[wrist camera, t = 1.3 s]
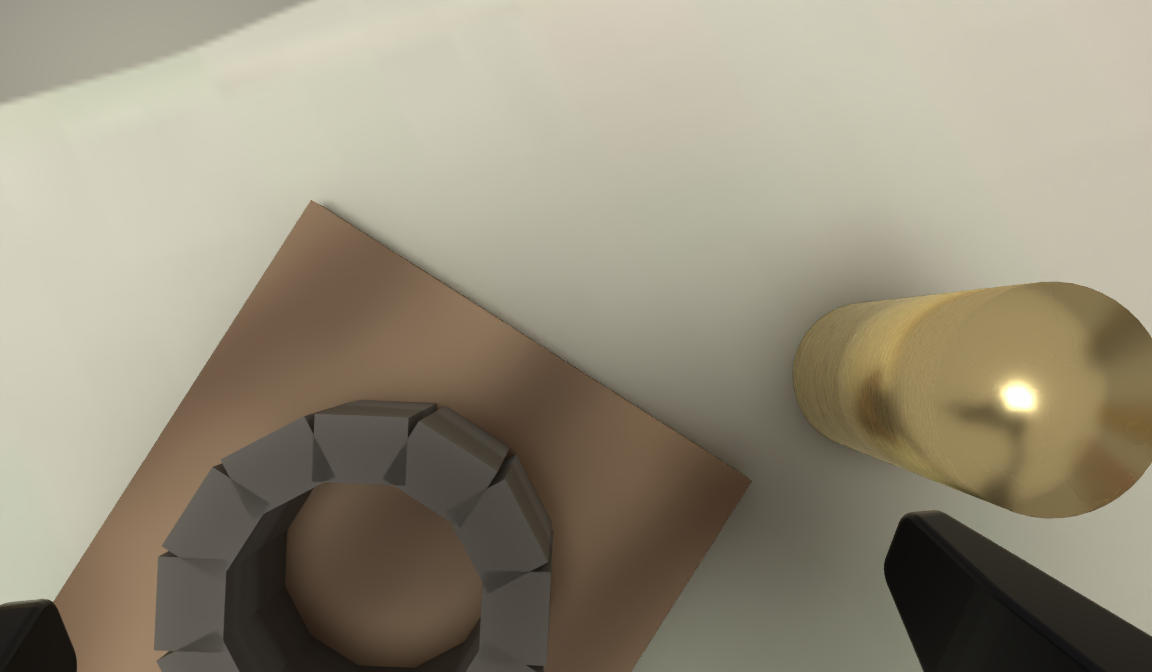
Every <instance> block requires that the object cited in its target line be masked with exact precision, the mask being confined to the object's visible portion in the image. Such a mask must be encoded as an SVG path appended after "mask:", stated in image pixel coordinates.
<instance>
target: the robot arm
mask: <svg viewBox="0 0 1152 672" xmlns="http://www.w3.org/2000/svg"><path fill="white" fill-rule="evenodd" d="M884 574H885V578H886V582H887V585H888V587H889V590H890V592H891V595H892V597H893V599H894V602H895V604H896V607H897V609H898V611H899V614H900V616H901V619H902V621H903V623H904V626H905V628H906V631H907V633H908V635H909V638H910V640H911V643H912V645H913V647H914V650H915V652H916V655H917V657H918V659H919V662H920V664H921V667H922V669H923V671H924V672H1152V636H1150V635H1149V634H1147V633H1145V632H1143V631H1142V630H1140V629H1138V628H1137V627H1135V626H1133V625H1132V624H1130V623H1128V622H1127V621H1125V620H1123V619H1122V618H1120V617H1118V616H1117V615H1115V614H1113V613H1112V612H1110V611H1108V610H1107V609H1105V608H1103V607H1101V606H1100V605H1098V604H1096V603H1095V602H1093V601H1091V600H1090V599H1088V598H1086V597H1085V596H1083V595H1081V594H1080V593H1078V592H1076V591H1075V590H1073V589H1071V588H1070V587H1068V586H1066V585H1065V584H1063V583H1061V582H1059V581H1058V580H1056V579H1054V578H1053V577H1051V576H1049V575H1048V574H1046V573H1044V572H1043V571H1041V570H1039V569H1038V568H1036V567H1034V566H1033V565H1031V564H1029V563H1028V562H1026V561H1024V560H1023V559H1021V558H1019V557H1017V556H1016V555H1014V554H1012V553H1011V552H1009V551H1007V550H1006V549H1004V548H1002V547H1001V546H999V545H997V544H996V543H994V542H992V541H991V540H989V539H987V538H986V537H984V536H982V535H981V534H979V533H977V532H975V531H974V530H972V529H970V528H969V527H967V526H965V525H964V524H962V523H960V522H959V521H957V520H955V519H954V518H952V517H950V516H949V515H947V514H945V513H943V512H940V511H935V510H932V511H921V512H911V513H908V514H906V515H904V516H903V517H902V518H901V520H900V522H899V524H898V527H897V529H896V532H895V535H894V537H893V540H892V542H891V545H890V548H889V550H888V553H887V556H886V558H885V562H884ZM0 672H77V658H76V653H75V650H74V647H73V645H72V642H71V640H70V638H69V635H68V633H67V630H66V628H65V625H64V623H63V620H62V618H61V615H60V613H59V610H58V608H57V607H56V605H55V604H54V603H53V602H52V601H50V600H46V599H38V600H28V601H18V602H9V603H5V604H2V605H0Z"/></svg>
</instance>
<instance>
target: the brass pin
mask: <svg viewBox="0 0 1152 672" xmlns="http://www.w3.org/2000/svg"><path fill="white" fill-rule="evenodd" d="M793 384H794V391H795V394H796V398H797V401H798V403H799V406H800V408H801V410H802V412H803V413H804V415H805V417H806V418H807V419H808V421H809V422H810V423H811V424H812V425H813V426H814V427H815V428H816V429H817V430H818V431H819V432H820V433H822V434H823V435H824V436H826V437H827V438H829V439H831V440H833V441H834V442H837V443H839V444H842V445H844V446H847V447H849V448H852V449H855V450H857V451H860V452H862V453H865V454H867V455H870V456H872V457H875V458H878V459H880V460H883V461H885V462H888V463H890V464H893V465H895V466H898V467H900V468H903V469H906V470H908V471H911V472H913V473H916V474H918V475H921V476H923V477H926V478H929V479H931V480H934V481H936V482H939V483H941V484H944V485H946V486H949V487H951V488H954V489H957V490H959V491H962V492H964V493H967V494H969V495H972V496H974V497H977V498H980V499H982V500H985V501H987V502H990V503H992V504H995V505H997V506H1000V507H1002V508H1005V509H1008V510H1010V511H1013V512H1015V513H1019V514H1023V515H1027V516H1031V517H1040V518H1065V517H1071V516H1077V515H1081V514H1084V513H1088V512H1091V511H1094V510H1096V509H1098V508H1100V507H1103V506H1105V505H1107V504H1108V503H1110V502H1112V501H1113V500H1115V499H1117V498H1118V497H1120V496H1121V495H1122V494H1123V493H1125V492H1126V491H1127V490H1128V489H1130V488H1131V487H1132V486H1133V485H1134V484H1135V483H1136V482H1137V480H1138V479H1139V478H1140V477H1141V476H1142V475H1143V474H1144V472H1145V471H1146V469H1147V468H1148V467H1149V465H1150V464H1151V462H1152V338H1151V336H1150V335H1149V333H1148V332H1147V330H1146V329H1145V328H1144V327H1143V325H1142V324H1141V323H1140V322H1139V320H1138V319H1137V318H1136V317H1135V316H1134V315H1133V314H1132V313H1130V312H1129V311H1128V310H1127V309H1126V308H1125V307H1123V306H1122V305H1121V304H1119V303H1118V302H1117V301H1115V300H1114V299H1112V298H1110V297H1108V296H1106V295H1105V294H1103V293H1101V292H1098V291H1096V290H1093V289H1090V288H1088V287H1084V286H1080V285H1076V284H1072V283H1063V282H1039V283H1030V284H1021V285H1012V286H1004V287H995V288H986V289H978V290H969V291H960V292H951V293H943V294H934V295H925V296H916V297H908V298H899V299H890V300H882V301H873V302H864V303H856V304H850V305H846V306H843V307H840V308H838V309H835V310H833V311H831V312H830V313H828V314H826V315H825V316H823V317H822V318H821V319H819V320H818V321H817V322H816V323H815V324H814V325H813V326H812V327H811V328H810V329H809V331H808V332H807V333H806V335H805V336H804V338H803V340H802V342H801V343H800V345H799V348H798V351H797V353H796V357H795V361H794V368H793Z"/></svg>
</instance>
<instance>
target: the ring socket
mask: <svg viewBox="0 0 1152 672" xmlns="http://www.w3.org/2000/svg"><path fill="white" fill-rule="evenodd" d="M751 482H752V481H751V480H750V479H748V478H747V477H746V476H745V475H743V474H742V473H740V472H738V471H737V470H735V469H734V468H732V467H731V466H729V465H727V464H726V463H724V462H723V461H721V460H720V459H718V458H717V457H715V456H713V455H712V454H710V453H709V452H707V451H706V450H704V449H702V448H701V447H699V446H698V445H696V444H695V443H693V442H691V441H690V440H688V439H687V438H685V437H684V436H682V435H680V434H679V433H677V432H676V431H674V430H673V429H671V428H669V427H668V426H666V425H665V424H663V423H662V422H660V421H658V420H657V419H655V418H654V417H652V416H651V415H649V414H648V413H646V412H644V411H643V410H641V409H640V408H638V407H637V406H635V405H633V404H632V403H630V402H629V401H627V400H626V399H624V398H622V397H621V396H619V395H618V394H616V393H615V392H613V391H611V390H610V389H608V388H607V387H605V386H604V385H602V384H600V383H599V382H597V381H596V380H594V379H593V378H591V377H590V376H588V375H586V374H585V373H583V372H582V371H580V370H579V369H577V368H575V367H574V366H572V365H571V364H569V363H568V362H566V361H564V360H563V359H561V358H560V357H558V356H557V355H555V354H553V353H552V352H550V351H549V350H547V349H546V348H544V347H542V346H541V345H539V344H538V343H536V342H535V341H533V340H532V339H530V338H528V337H527V336H525V335H524V334H522V333H521V332H519V331H517V330H516V329H514V328H513V327H511V326H510V325H508V324H506V323H505V322H503V321H502V320H500V319H499V318H497V317H495V316H494V315H492V314H491V313H489V312H488V311H486V310H484V309H483V308H481V307H480V306H478V305H477V304H475V303H473V302H472V301H470V300H469V299H467V298H466V297H464V296H463V295H461V294H459V293H458V292H456V291H455V290H453V289H452V288H450V287H448V286H447V285H445V284H444V283H442V282H441V281H439V280H437V279H436V278H434V277H433V276H431V275H430V274H428V273H426V272H425V271H423V270H422V269H420V268H419V267H417V266H415V265H414V264H412V263H411V262H409V261H408V260H406V259H405V258H403V257H401V256H400V255H398V254H397V253H395V252H394V251H392V250H390V249H389V248H387V247H386V246H384V245H383V244H381V243H379V242H378V241H376V240H375V239H373V238H372V237H370V236H368V235H367V234H365V233H364V232H362V231H361V230H359V229H357V228H356V227H354V226H353V225H351V224H350V223H348V222H347V221H345V220H343V219H342V218H340V217H339V216H337V215H336V214H334V213H332V212H331V211H329V210H328V209H326V208H325V207H323V206H321V205H319V204H318V203H316V202H314V201H312V200H311V201H310V203H309V204H308V206H307V207H306V209H305V211H304V212H303V214H302V215H301V217H300V218H299V220H298V221H297V223H296V225H295V226H294V228H293V229H292V231H291V232H290V234H289V235H288V237H287V239H286V240H285V242H284V243H283V245H282V246H281V248H280V250H279V251H278V253H277V254H276V256H275V257H274V259H273V260H272V262H271V264H270V265H269V267H268V268H267V270H266V271H265V273H264V274H263V276H262V278H261V279H260V281H259V282H258V284H257V285H256V287H255V288H254V290H253V292H252V293H251V295H250V296H249V298H248V299H247V301H246V302H245V304H244V306H243V307H242V309H241V310H240V312H239V313H238V315H237V317H236V318H235V320H234V321H233V323H232V324H231V326H230V327H229V329H228V331H227V332H226V334H225V335H224V337H223V338H222V340H221V341H220V343H219V345H218V346H217V348H216V349H215V351H214V352H213V354H212V355H211V357H210V359H209V360H208V362H207V363H206V365H205V366H204V368H203V369H202V371H201V373H200V374H199V376H198V377H197V379H196V380H195V382H194V383H193V385H192V387H191V388H190V390H189V391H188V393H187V394H186V396H185V398H184V399H183V401H182V402H181V404H180V405H179V407H178V408H177V410H176V412H175V413H174V415H173V416H172V418H171V419H170V421H169V422H168V424H167V426H166V427H165V429H164V430H163V432H162V433H161V435H160V436H159V438H158V440H157V441H156V443H155V444H154V446H153V447H152V449H151V450H150V452H149V454H148V455H147V457H146V458H145V460H144V461H143V463H142V465H141V466H140V468H139V469H138V471H137V472H136V474H135V475H134V477H133V479H132V480H131V482H130V483H129V485H128V486H127V488H126V489H125V491H124V493H123V494H122V496H121V497H120V499H119V500H118V502H117V503H116V505H115V507H114V508H113V510H112V511H111V513H110V514H109V516H108V517H107V519H106V521H105V522H104V524H103V525H102V527H101V528H100V530H99V531H98V533H97V535H96V536H95V538H94V539H93V541H92V542H91V544H90V546H89V547H88V549H87V550H86V552H85V553H84V555H83V556H82V558H81V560H80V561H79V563H78V564H77V566H76V567H75V569H74V570H73V572H72V574H71V575H70V577H69V578H68V580H67V581H66V583H65V584H64V586H63V588H62V589H61V591H60V592H59V594H58V595H57V597H56V598H55V600H54V602H53V603H54V604H55V605H56V607H57V608H58V610H59V613H60V615H61V618H62V620H63V623H64V625H65V628H66V630H67V633H68V635H69V638H70V640H71V642H72V645H73V647H74V650H75V653H76V658H77V672H631V671H632V669H633V668H634V666H635V664H636V663H637V661H638V660H639V658H640V657H641V655H642V653H643V652H644V650H645V649H646V647H647V646H648V644H649V642H650V641H651V639H652V638H653V636H654V635H655V633H656V631H657V630H658V628H659V627H660V625H661V624H662V622H663V620H664V619H665V617H666V616H667V614H668V613H669V611H670V609H671V608H672V606H673V605H674V603H675V601H676V600H677V598H678V597H679V595H680V594H681V592H682V590H683V589H684V587H685V586H686V584H687V583H688V581H689V579H690V578H691V576H692V575H693V573H694V572H695V570H696V568H697V567H698V565H699V564H700V562H701V561H702V559H703V557H704V556H705V554H706V553H707V551H708V550H709V548H710V546H711V545H712V543H713V542H714V540H715V539H716V537H717V535H718V534H719V532H720V531H721V529H722V528H723V526H724V524H725V523H726V521H727V520H728V518H729V517H730V515H731V513H732V512H733V510H734V509H735V507H736V506H737V504H738V502H739V501H740V499H741V498H742V496H743V494H744V493H745V491H746V490H747V488H748V487H749V485H750V483H751Z"/></svg>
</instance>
